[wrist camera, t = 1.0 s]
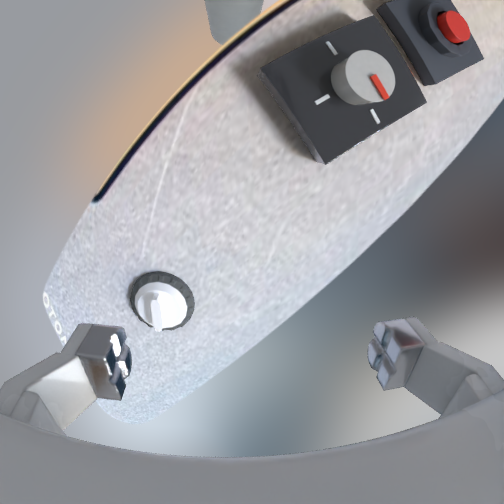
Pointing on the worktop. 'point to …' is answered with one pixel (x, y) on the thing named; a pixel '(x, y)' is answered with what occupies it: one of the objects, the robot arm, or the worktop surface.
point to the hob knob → (363, 78)
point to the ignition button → (453, 27)
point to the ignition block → (428, 38)
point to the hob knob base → (325, 98)
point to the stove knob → (162, 301)
